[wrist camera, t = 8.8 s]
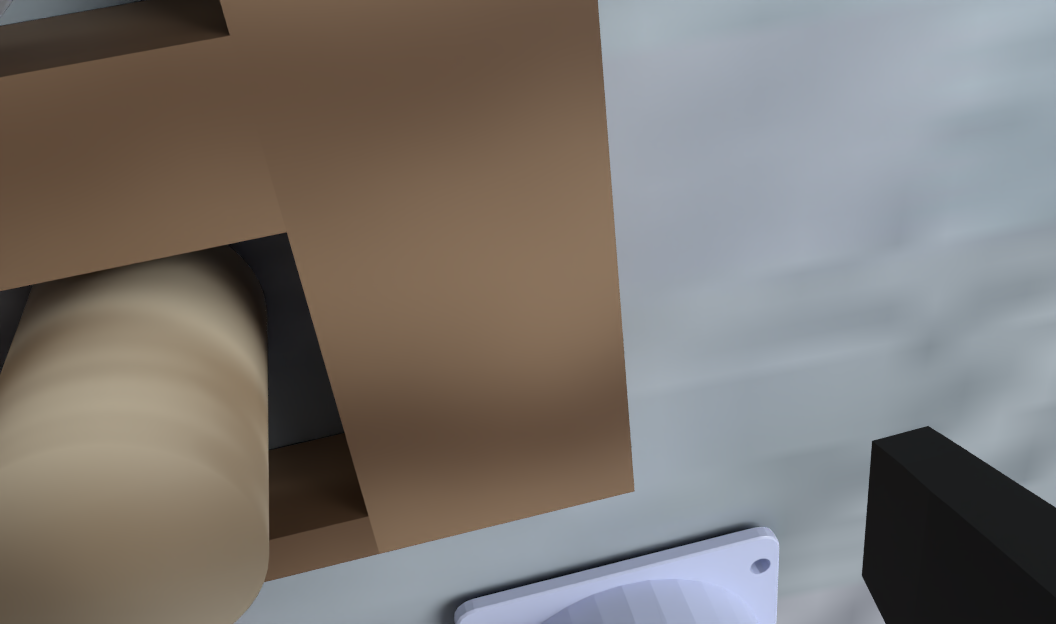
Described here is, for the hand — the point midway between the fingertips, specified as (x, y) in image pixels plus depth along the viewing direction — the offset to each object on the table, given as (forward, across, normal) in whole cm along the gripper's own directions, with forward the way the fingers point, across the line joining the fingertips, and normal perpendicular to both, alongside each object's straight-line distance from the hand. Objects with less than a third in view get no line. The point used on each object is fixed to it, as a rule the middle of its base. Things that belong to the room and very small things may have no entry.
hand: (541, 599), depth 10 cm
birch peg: (+10, +5, +1) cm, 11 cm away
